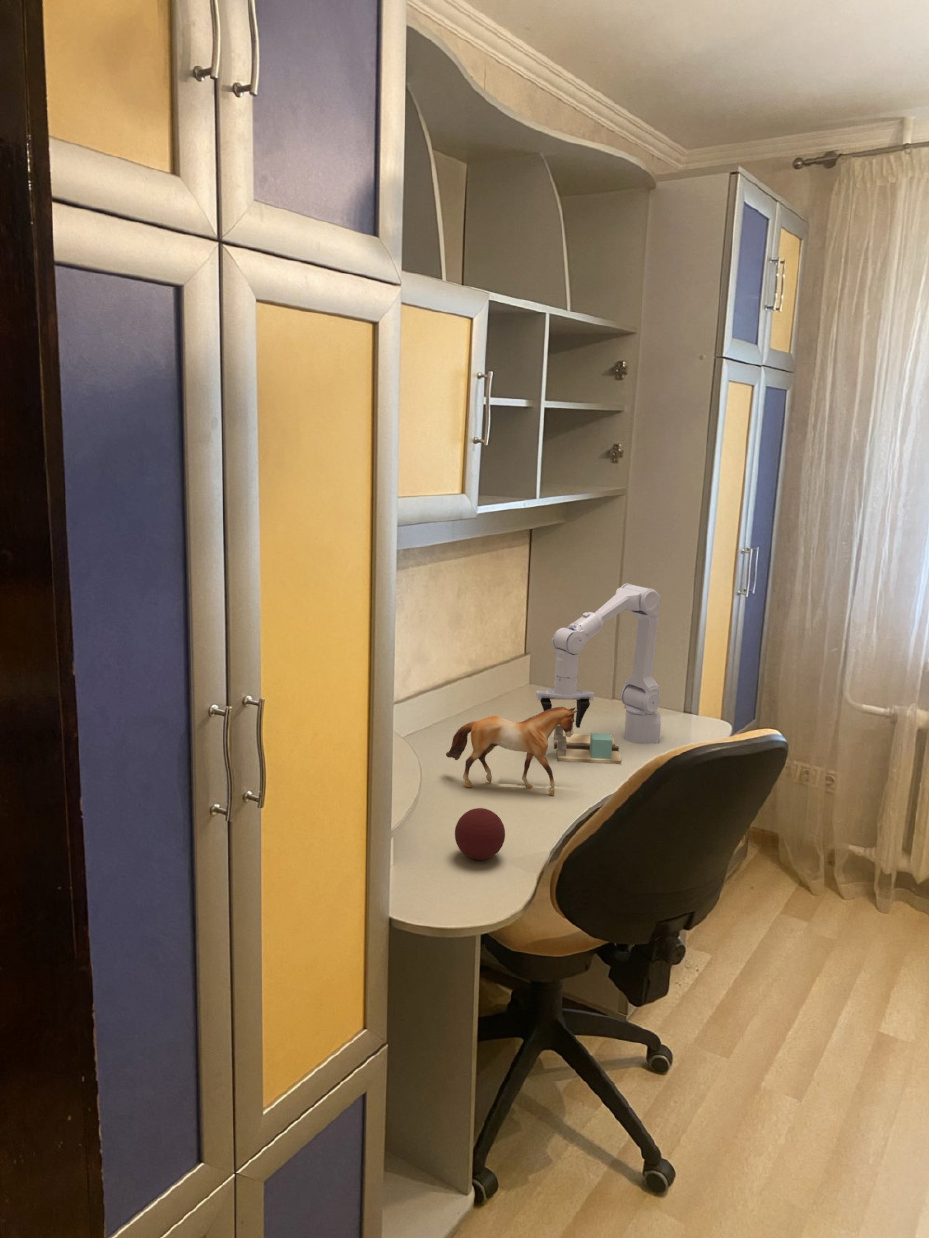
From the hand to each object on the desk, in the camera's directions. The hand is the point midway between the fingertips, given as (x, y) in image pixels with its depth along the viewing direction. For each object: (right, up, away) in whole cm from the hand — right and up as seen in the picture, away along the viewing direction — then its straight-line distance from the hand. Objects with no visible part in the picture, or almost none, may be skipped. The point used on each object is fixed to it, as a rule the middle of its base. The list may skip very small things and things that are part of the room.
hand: (562, 726), depth 236 cm
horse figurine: (-15, -12, -15) cm, 24 cm away
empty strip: (+7, -6, +13) cm, 16 cm away
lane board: (+7, -8, +7) cm, 13 cm away
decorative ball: (-22, -20, -53) cm, 61 cm away
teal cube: (+10, -8, +1) cm, 12 cm away
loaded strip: (+7, -8, +2) cm, 11 cm away
